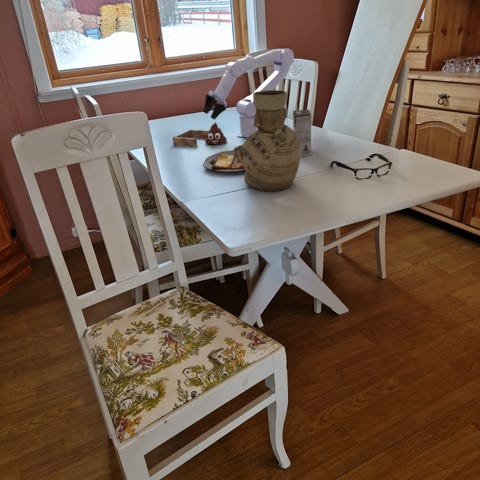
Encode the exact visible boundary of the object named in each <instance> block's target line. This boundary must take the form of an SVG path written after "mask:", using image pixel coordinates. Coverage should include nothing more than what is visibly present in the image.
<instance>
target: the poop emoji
mask: <svg viewBox="0 0 480 480" xmlns="http://www.w3.org/2000/svg"><path fill="white" fill-rule="evenodd" d="M208 131H209V132H208V133H207V135H206V136H207V138H204V142H205V145H209V146H212V145H224V144H226V143H227V141H228V140H227V137H226V136H225V135H224V132H223V131H222V129H221V127H219V126H218V123H217V122H214V123H213V124H212V125H211V126H210V128H209V130H208Z"/></svg>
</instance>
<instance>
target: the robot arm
mask: <svg viewBox="0 0 480 480" xmlns="http://www.w3.org/2000/svg"><path fill="white" fill-rule="evenodd" d="M294 60H295V54H294V52H293V50H292V49H290V48H287V49H285V48H276V49H272V50H269V51H267V52H265V53H262V54H260V55H257V56H255V57H253V56H252V55H249V54H248V55H246V56H245V57H244V58H243V57H242V58H241V59H236V60H235V62H234V61H231V62H228V63H227V64H225V68H224V71H225V72H224V74H223V75H222V77H221V79H220V81H219V83H218V85H217V87H216V88H215V90H214V91H213V90H209V92H208V94H205V103H204V107H203V111H202V112H203V113H204V114H206V115H208V114H209V113H210V111H211V110H212V108H213V107H214V108H213V111H212V113H211V116H210V118H211V119H213V120H216V119H217V118H219V117H218V116H220V115H221V114H222V113H223V112H224V111H226V110H227V104H228V103H227V102H226V99H227V97H228V95H229V94H230V92H231V90H232V89H233V86H234V84H235V83H236V80H237V78H238V77H241V76H242V75H243V74H245V73H247V72H251V71H253V70H255V69H256V68H257V66H259V65H261V64H264V63H268V62H270V61H272V62H273V63H272V64H273V67H274V71H273V73H272V74H271V75H270V76H268V77H267V78H266V80H264V82H262V84H261V85H259V87H258V88H257V89H255V90H254V92H258V91H266V90H275V88H277V86H278V85H279V84H280V83H281V82H283V80H284V79H285V78H286V77H287V75H288V73H289V70H290V68H291V66H292V65H293V64H294ZM235 108H236V111H237V113H238V114H239V128H240V130H239V131H240V134H238V135H237V138H238V137H239V138H248V137H249V136H250V135H251V134H253V132H254V131H258V127H255V126H254V125H253V124H254V116H255V114H256V108H255V105H254V101H253V93H252V94H250V95H248V96H246V97H245V98H243V99H241V100H239V101H238V102H237V104H236V107H235Z"/></svg>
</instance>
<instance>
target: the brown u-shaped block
mask: <svg viewBox="0 0 480 480" xmlns="http://www.w3.org/2000/svg"><path fill="white" fill-rule="evenodd" d="M208 132H209V130H206V129H205V130H203V129H188V130H187V131H184V132H182V133H179V134H177V135H176V136H174V137H173V136H172V141H173V142H172V143H173V146H181V147H182V146H183V147H196V148H197V147H198V141H197V140H198V139H197V138H200V139H206V138H207V136H206V135H207V133H208Z"/></svg>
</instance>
